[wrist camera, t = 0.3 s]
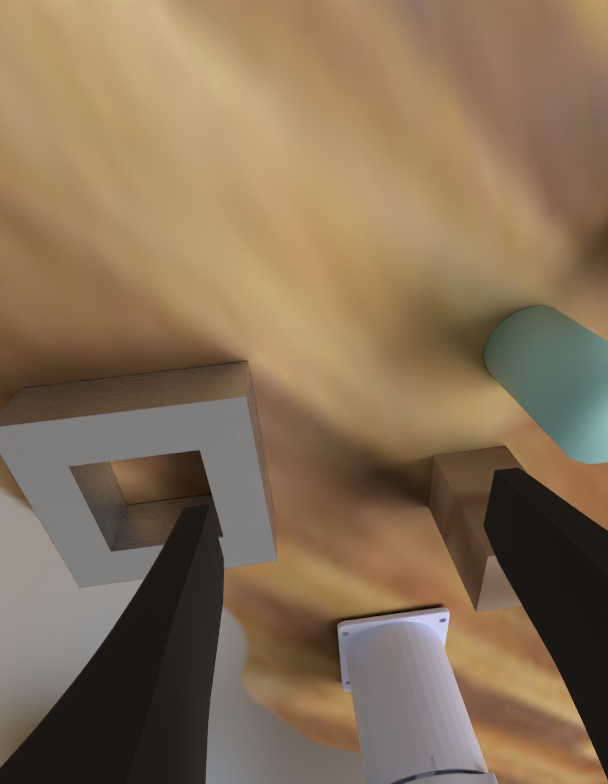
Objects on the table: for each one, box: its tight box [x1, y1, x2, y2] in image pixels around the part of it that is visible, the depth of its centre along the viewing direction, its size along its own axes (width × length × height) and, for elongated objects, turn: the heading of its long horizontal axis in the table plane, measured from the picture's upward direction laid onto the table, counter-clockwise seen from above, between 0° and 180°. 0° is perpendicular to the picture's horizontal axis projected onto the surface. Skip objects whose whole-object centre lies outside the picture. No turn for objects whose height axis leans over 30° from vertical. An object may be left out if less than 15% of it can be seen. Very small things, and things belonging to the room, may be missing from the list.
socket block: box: [0, 361, 277, 588], centre depth 21 cm, size 10×10×3 cm
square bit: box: [429, 446, 527, 612], centre depth 22 cm, size 4×4×6 cm
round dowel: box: [484, 306, 608, 464], centre depth 18 cm, size 4×4×6 cm
